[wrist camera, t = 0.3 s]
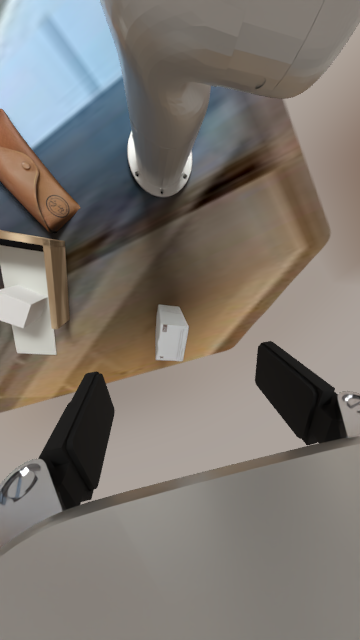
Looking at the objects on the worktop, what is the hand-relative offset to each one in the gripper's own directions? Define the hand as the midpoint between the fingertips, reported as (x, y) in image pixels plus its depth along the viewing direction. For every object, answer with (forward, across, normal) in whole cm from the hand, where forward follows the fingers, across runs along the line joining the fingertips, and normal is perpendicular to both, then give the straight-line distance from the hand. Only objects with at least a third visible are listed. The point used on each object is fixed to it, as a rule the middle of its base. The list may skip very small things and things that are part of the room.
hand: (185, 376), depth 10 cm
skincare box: (+36, 0, +10) cm, 38 cm away
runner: (+36, +31, +2) cm, 48 cm away
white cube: (+36, +31, +1) cm, 47 cm away
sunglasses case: (+37, +21, -22) cm, 48 cm away
